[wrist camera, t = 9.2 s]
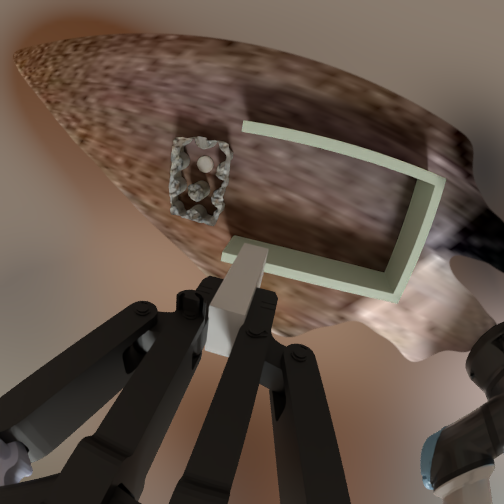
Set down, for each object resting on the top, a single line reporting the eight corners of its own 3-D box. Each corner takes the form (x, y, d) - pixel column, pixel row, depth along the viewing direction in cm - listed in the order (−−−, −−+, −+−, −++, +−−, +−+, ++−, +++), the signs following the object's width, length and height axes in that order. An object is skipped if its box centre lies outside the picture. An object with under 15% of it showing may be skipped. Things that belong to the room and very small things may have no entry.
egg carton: (186, 132, 34) (172, 133, 30) (241, 143, 33) (232, 145, 29) (173, 206, 38) (160, 215, 35) (223, 221, 38) (214, 231, 34)
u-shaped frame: (428, 170, 29) (446, 178, 24) (388, 281, 36) (397, 303, 32) (253, 121, 31) (243, 120, 26) (232, 243, 39) (221, 260, 34)
